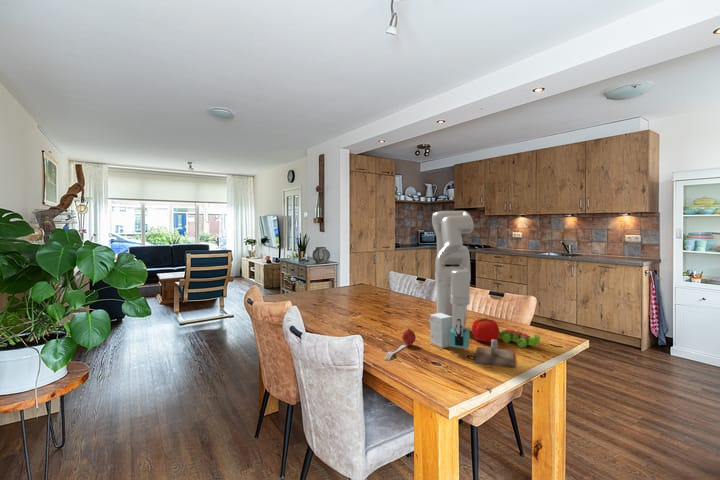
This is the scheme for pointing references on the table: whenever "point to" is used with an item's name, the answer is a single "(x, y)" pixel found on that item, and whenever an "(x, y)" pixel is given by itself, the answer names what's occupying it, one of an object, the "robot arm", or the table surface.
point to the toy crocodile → (518, 338)
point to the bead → (465, 338)
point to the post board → (494, 356)
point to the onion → (408, 337)
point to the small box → (440, 329)
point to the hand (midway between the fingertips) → (460, 341)
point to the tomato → (485, 330)
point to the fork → (394, 352)
